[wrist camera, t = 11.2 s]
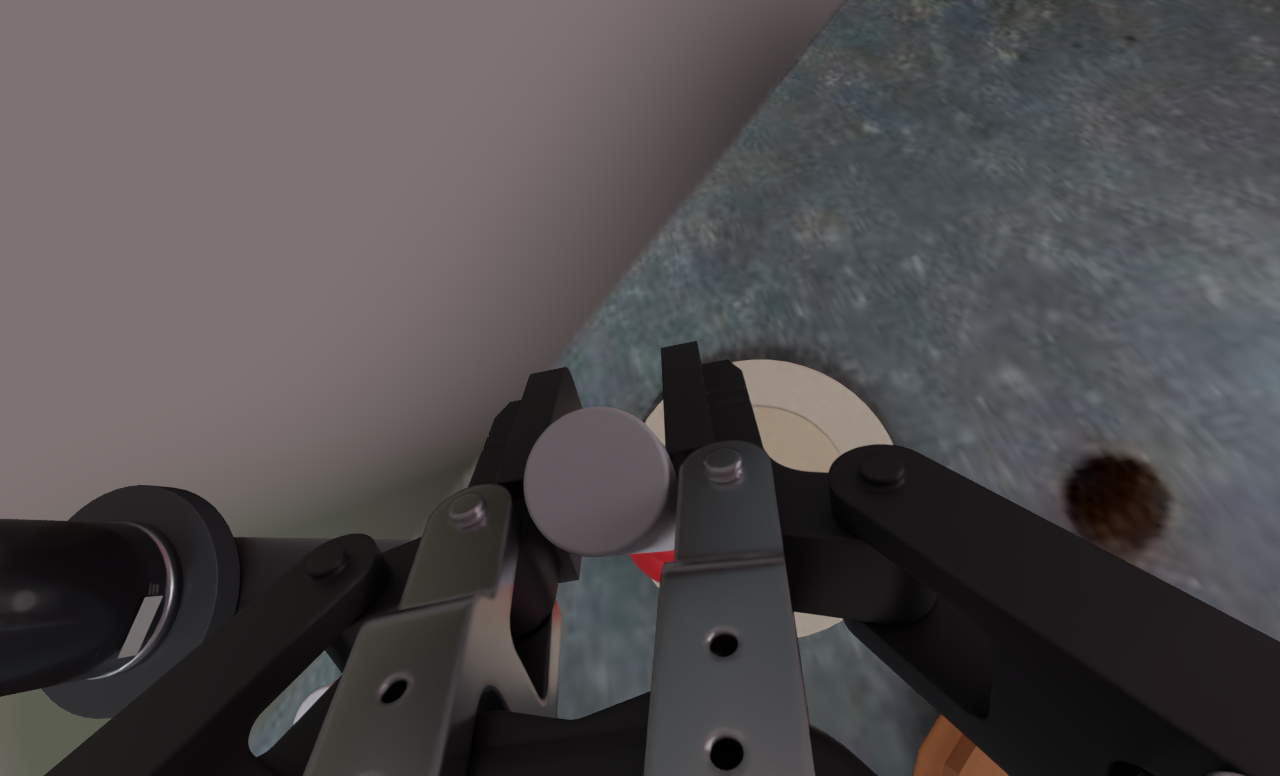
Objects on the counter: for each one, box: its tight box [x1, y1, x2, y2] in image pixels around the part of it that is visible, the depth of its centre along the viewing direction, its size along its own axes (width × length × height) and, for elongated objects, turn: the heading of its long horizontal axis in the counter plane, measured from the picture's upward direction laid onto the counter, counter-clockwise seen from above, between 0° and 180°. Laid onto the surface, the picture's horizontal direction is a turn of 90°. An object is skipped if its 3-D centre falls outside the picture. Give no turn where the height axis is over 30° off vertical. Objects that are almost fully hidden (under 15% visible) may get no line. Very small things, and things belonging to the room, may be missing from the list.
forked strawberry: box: [524, 407, 678, 583], centre depth 16 cm, size 5×5×16 cm
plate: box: [645, 360, 893, 637], centre depth 36 cm, size 16×16×1 cm
